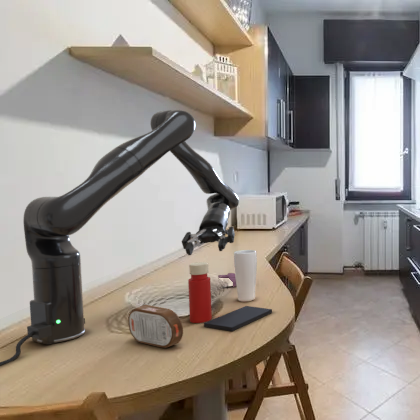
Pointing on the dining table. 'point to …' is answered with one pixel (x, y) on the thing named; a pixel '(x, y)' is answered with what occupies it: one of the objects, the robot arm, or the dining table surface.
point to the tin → (155, 326)
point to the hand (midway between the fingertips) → (204, 250)
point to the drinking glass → (245, 274)
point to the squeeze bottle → (199, 293)
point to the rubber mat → (238, 318)
